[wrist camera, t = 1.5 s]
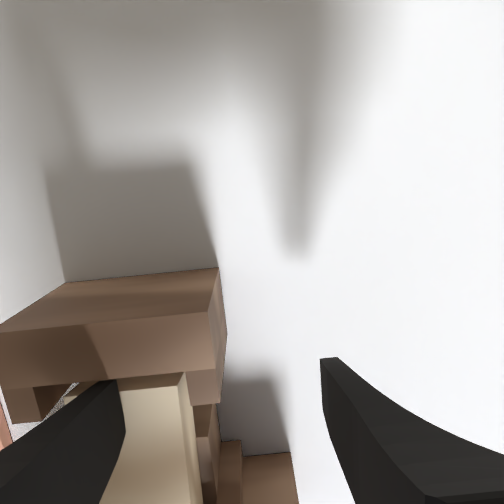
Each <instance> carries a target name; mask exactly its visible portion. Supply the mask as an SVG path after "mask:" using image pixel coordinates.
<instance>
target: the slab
mask: <svg viewBox="0 0 504 504" xmlns="http://www.w3.org/2000/svg"><path fill="white" fill-rule="evenodd" d="M107 380H114V379H107ZM98 381H105V380H97V381H88V382H80V383H79V384H78V385H77V386H76V387H75V388H73V389H72V390H71V391H70V392H69V393H68V394H66V395H65V396H64V397H63V399H64V406H65V405H66V404H68V403H69V402H70V401H72V400H73V399H74V398H76V397H77V396H78V395H80V394H81V393H82V392H84V391H85V390H86V389H88V388H89V387H91V386H92V385H94V384H95V383H97V382H98ZM116 381H117V385H118V390H119V394H120V399H121V404H122V408H123V413H124V419H125V427H126V434H125V438H124V442H123V445H122V449H121V452H120V455H119V458H118V461H117V463H116V466H115V468H114V470H113V473H112V475H111V477H110V480H109V482H108V484H107V487H106V489H105V491H104V493H103V496H102V498H101V500H100V503H99V504H203V496H202V487H201V478H200V470H199V461H198V452H197V443H196V434H195V425H194V416H193V407H192V406H190V400H189V394H188V387H187V381H186V375H185V372H176V373H167V374H157V375H147V376H137V377H127V378H117V379H116Z"/></svg>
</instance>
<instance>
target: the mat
mask: <svg viewBox="0 0 504 504" xmlns="http://www.w3.org/2000/svg"><path fill="white" fill-rule="evenodd" d="M12 443H13V442H12V439H11V436H10V432H9V429H8V426H7V423H6V420H5V416H4V413H3V410H2V407H1V403H0V451H1V450H2V449H4V448H5V447H7V446H8V445H10V444H12Z"/></svg>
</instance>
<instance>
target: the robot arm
mask: <svg viewBox="0 0 504 504" xmlns="http://www.w3.org/2000/svg"><path fill="white" fill-rule="evenodd" d="M320 371H321V388H322V405H323V412H324V416H325V420H326V424H327V428H328V432H329V436H330V439H331V441H332V444H333V447H334V449H335V452H336V455H337V457H338V460H339V462H340V465H341V468H342V470H343V473H344V475H345V478H346V480H347V483H348V486H349V488H350V491H351V493H352V496H353V498H354V501H355V504H504V455H503V454H500V453H498V452H495V451H492V450H490V449H487V448H485V447H482V446H479V445H477V444H474V443H472V442H469V441H467V440H465V439H462V438H460V437H458V436H456V435H454V434H451V433H449V432H447V431H445V430H443V429H441V428H439V427H437V426H435V425H433V424H431V423H429V422H427V421H425V420H423V419H422V418H420V417H418V416H416V415H415V414H413V413H411V412H410V411H408V410H406V409H404V408H403V407H401V406H400V405H398V404H397V403H395V402H394V401H392V400H391V399H389V398H388V397H386V396H385V395H383V394H382V393H381V392H379V391H378V390H377V389H375V388H374V387H373V386H371V385H370V384H369V383H368V382H366V381H365V380H364V379H363V378H361V377H360V376H359V375H358V374H357V373H355V372H354V371H353V370H352V369H351V368H349V367H348V366H347V365H346V364H345V363H344V362H342V361H341V360H340V359H339V358H338V357H333V358H323V359H320ZM125 434H126V427H125V419H124V413H123V408H122V404H121V399H120V394H119V390H118V385H117V381H116V379H114V380H105V381H98V382H97V383H95V384H94V385H92V386H91V387H89V388H88V389H86V390H85V391H84V392H82V393H81V394H80V395H78V396H77V397H76V398H74V399H73V400H72V401H70V402H69V403H68V404H66V405H65V406H64V407H62V408H61V409H60V410H58V411H57V412H56V413H54V414H53V415H52V416H50V417H49V418H48V419H46V420H45V421H43V422H42V423H40V424H39V425H38V426H36V427H35V428H33V429H32V430H30V431H29V432H28V433H26V434H25V435H23V436H22V437H21V438H19V439H18V440H16V441H15V442H13V443H12V444H10V445H8V446H7V447H5V448H4V449H2V450H1V451H0V504H99V503H100V500H101V498H102V496H103V493H104V491H105V489H106V487H107V484H108V482H109V480H110V477H111V475H112V473H113V470H114V468H115V466H116V463H117V461H118V458H119V455H120V452H121V449H122V445H123V442H124V438H125Z"/></svg>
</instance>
